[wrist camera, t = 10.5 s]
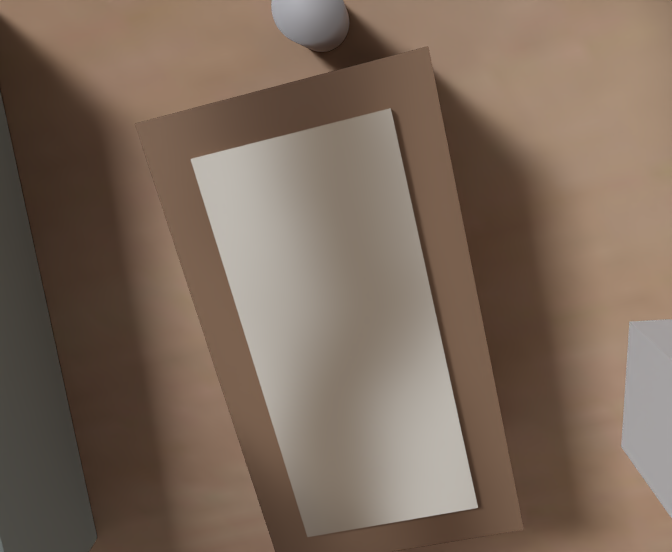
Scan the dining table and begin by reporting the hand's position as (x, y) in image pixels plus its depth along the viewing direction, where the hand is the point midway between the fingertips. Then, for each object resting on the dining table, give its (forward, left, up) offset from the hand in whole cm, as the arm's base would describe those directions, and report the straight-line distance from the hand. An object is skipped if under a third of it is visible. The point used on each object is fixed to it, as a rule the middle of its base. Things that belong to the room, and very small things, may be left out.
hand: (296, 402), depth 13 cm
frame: (+1, 0, -9) cm, 9 cm away
